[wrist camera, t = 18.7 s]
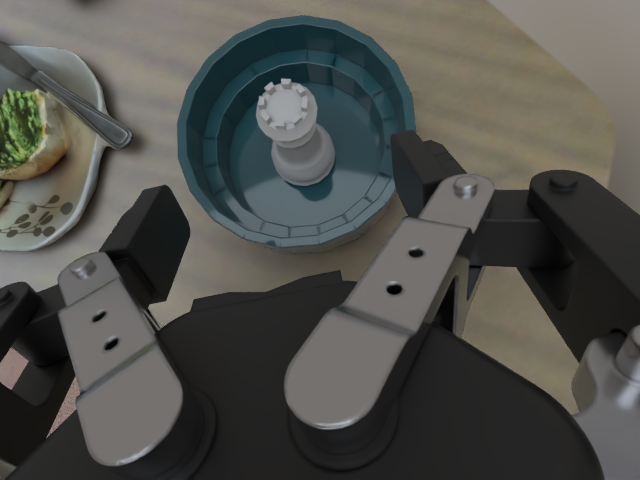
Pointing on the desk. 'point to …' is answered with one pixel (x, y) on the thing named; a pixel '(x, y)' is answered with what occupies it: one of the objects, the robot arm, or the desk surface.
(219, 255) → the desk surface
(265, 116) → the rook chess piece
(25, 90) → the salad plate
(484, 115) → the desk surface
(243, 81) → the bowl
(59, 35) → the desk surface
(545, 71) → the desk surface
